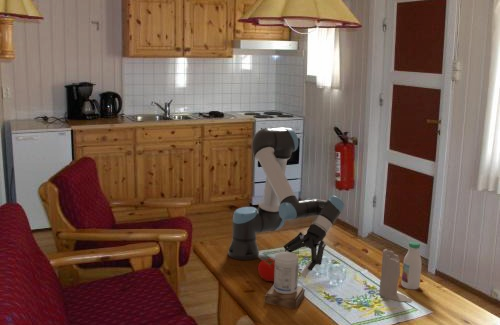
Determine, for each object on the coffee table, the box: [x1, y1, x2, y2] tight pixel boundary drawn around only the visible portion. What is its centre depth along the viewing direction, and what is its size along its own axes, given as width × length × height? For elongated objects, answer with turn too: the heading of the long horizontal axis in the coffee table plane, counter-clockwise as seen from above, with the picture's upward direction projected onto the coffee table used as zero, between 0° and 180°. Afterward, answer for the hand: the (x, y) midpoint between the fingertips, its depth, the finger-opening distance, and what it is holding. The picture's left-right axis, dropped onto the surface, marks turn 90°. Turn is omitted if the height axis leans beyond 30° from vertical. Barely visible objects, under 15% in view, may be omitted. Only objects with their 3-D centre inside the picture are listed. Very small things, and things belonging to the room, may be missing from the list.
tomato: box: [257, 258, 275, 282], centre depth 238 cm, size 11×11×9 cm
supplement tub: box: [273, 251, 299, 294], centre depth 217 cm, size 10×10×15 cm
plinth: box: [264, 284, 306, 310], centre depth 219 cm, size 13×13×4 cm
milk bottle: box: [400, 241, 423, 290], centre depth 235 cm, size 8×8×20 cm
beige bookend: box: [378, 248, 413, 303], centre depth 224 cm, size 7×14×20 cm, turn 58°
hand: (291, 270), depth 219 cm, fingers open, 13 cm apart
